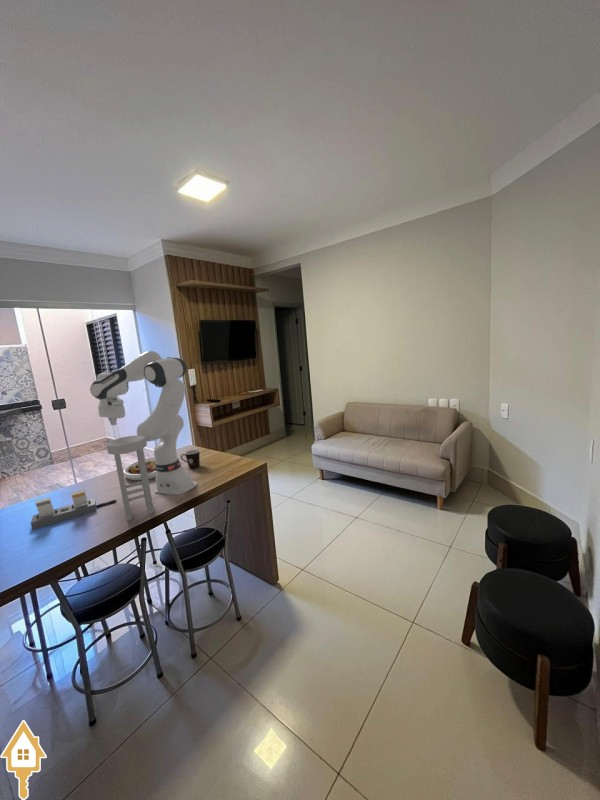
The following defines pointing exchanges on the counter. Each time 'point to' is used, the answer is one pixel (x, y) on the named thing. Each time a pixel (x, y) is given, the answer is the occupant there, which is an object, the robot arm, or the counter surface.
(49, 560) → the counter surface
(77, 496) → the white upright block
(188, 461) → the coffee mug
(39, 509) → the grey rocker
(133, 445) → the stool
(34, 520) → the power strip
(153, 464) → the bowl
